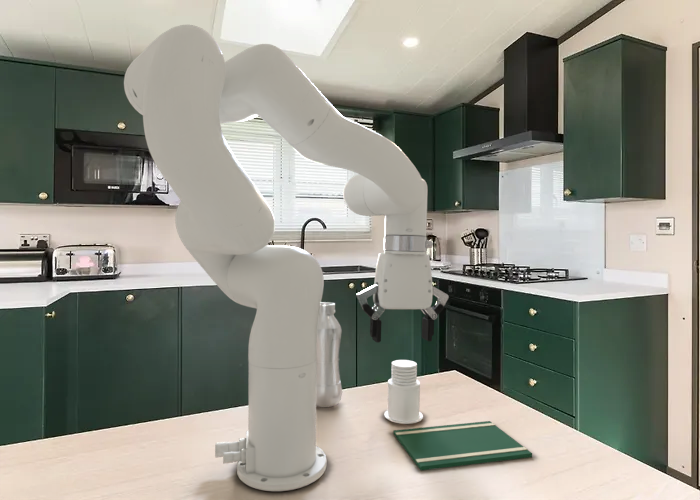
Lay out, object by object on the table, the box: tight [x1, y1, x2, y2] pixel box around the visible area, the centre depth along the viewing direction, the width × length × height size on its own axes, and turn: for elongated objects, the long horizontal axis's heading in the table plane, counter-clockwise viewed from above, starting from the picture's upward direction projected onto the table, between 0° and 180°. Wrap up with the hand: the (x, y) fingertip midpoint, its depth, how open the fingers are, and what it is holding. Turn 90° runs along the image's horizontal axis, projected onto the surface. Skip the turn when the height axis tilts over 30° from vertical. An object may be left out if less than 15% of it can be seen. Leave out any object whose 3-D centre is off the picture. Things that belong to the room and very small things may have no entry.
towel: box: [392, 420, 533, 471], centre depth 70 cm, size 18×12×1 cm, turn 103°
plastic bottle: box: [316, 301, 343, 408], centre depth 86 cm, size 6×7×20 cm
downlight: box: [384, 359, 424, 425], centre depth 81 cm, size 8×7×10 cm
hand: (401, 340), depth 80 cm, fingers open, 9 cm apart
